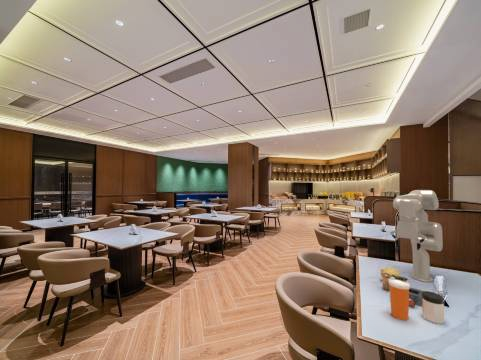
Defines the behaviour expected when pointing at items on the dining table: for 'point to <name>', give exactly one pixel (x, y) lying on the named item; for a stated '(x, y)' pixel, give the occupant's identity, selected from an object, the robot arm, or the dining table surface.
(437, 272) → the dining table surface
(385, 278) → the pipe stub
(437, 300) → the jar
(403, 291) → the shaker bottle
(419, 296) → the valve body
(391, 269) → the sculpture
